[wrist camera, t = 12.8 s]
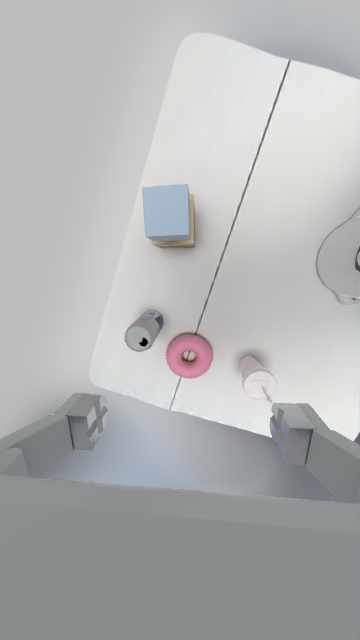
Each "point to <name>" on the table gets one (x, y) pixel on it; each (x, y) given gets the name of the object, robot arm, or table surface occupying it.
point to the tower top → (191, 241)
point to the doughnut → (189, 344)
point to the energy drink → (144, 331)
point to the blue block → (167, 212)
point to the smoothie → (257, 379)
